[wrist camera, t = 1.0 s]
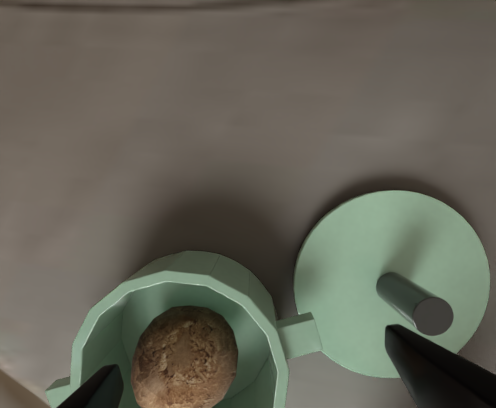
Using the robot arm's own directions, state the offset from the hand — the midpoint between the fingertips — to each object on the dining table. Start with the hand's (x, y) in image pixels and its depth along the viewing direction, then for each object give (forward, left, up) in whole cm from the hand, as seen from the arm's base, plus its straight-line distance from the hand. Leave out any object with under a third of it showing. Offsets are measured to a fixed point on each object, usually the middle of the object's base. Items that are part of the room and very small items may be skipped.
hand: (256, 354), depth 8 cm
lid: (-6, -10, -12) cm, 17 cm away
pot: (-6, +7, -13) cm, 16 cm away
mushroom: (-6, +7, -13) cm, 16 cm away
